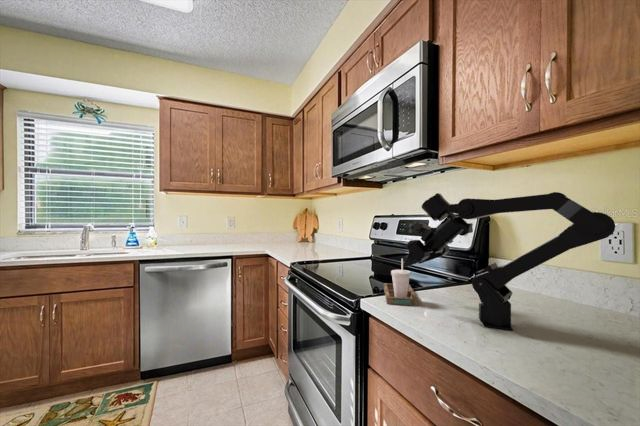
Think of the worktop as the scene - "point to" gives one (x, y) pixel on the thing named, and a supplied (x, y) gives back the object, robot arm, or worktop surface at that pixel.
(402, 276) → the smoothie
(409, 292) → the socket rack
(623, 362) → the worktop surface
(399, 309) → the worktop surface
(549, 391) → the worktop surface
